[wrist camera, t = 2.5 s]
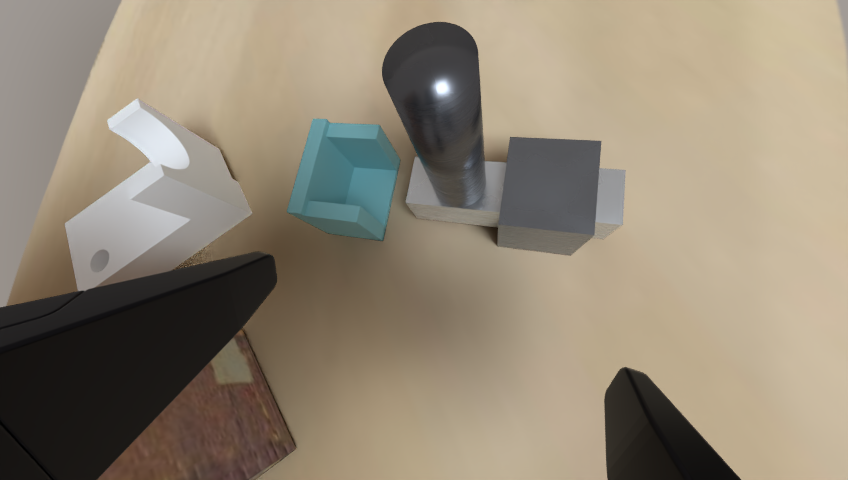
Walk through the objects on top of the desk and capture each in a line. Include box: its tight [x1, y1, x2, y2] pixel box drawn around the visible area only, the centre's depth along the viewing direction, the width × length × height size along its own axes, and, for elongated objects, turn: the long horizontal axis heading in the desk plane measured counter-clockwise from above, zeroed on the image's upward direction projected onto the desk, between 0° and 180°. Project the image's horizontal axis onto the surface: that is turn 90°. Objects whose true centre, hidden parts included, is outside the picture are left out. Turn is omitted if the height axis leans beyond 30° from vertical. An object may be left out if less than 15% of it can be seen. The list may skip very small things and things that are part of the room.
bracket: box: [65, 98, 253, 291], centre depth 24 cm, size 13×7×8 cm, turn 122°
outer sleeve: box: [497, 137, 601, 256], centre depth 18 cm, size 4×5×5 cm
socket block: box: [287, 119, 400, 241], centre depth 21 cm, size 4×6×5 cm
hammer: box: [382, 22, 625, 239], centre depth 15 cm, size 12×3×12 cm, turn 79°
